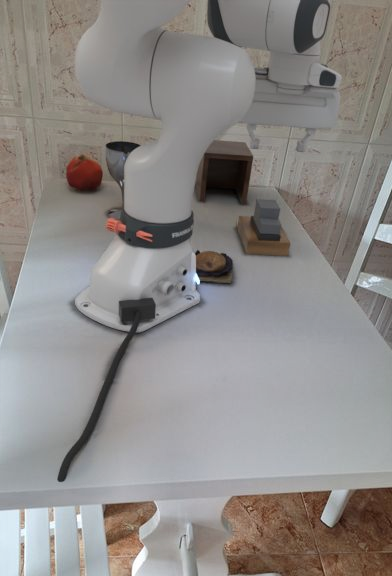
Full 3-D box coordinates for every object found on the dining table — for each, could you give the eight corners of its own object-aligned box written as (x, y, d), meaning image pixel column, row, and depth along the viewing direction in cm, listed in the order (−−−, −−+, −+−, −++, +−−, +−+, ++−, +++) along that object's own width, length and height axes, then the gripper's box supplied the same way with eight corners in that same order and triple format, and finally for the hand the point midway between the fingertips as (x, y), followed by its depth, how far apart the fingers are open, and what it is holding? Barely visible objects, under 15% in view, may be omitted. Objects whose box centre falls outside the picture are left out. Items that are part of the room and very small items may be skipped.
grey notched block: (250, 220, 109) (254, 196, 106) (270, 221, 109) (274, 197, 106) (258, 240, 101) (263, 214, 98) (279, 241, 102) (285, 215, 98)
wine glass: (104, 208, 115) (102, 141, 105) (137, 207, 117) (138, 141, 108) (109, 221, 109) (108, 152, 100) (144, 220, 111) (146, 152, 102)
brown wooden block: (287, 255, 103) (290, 242, 101) (246, 253, 102) (248, 240, 100) (274, 230, 114) (277, 217, 112) (236, 228, 112) (238, 215, 111)
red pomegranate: (96, 181, 128) (95, 149, 123) (109, 193, 122) (108, 160, 117) (61, 184, 124) (58, 151, 119) (73, 197, 118) (71, 163, 113)
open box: (245, 204, 125) (253, 156, 118) (199, 201, 124) (204, 152, 116) (238, 187, 134) (245, 142, 127) (195, 185, 133) (199, 138, 126)
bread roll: (233, 286, 91) (236, 268, 89) (188, 281, 91) (190, 264, 89) (231, 259, 100) (233, 242, 97) (190, 255, 99) (191, 238, 97)
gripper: (237, 67, 84) (227, 150, 93) (350, 78, 87) (330, 157, 95) (232, 62, 89) (223, 141, 98) (339, 72, 92) (321, 148, 100)
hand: (277, 149), depth 96 cm, fingers open, 8 cm apart
